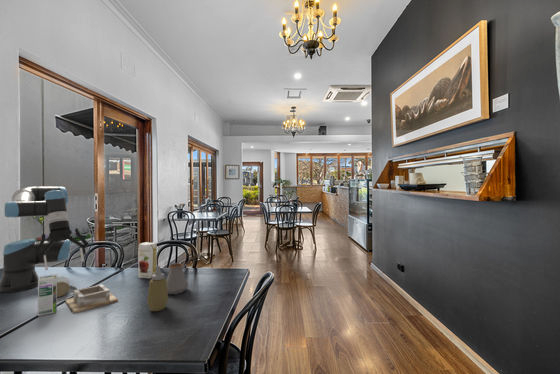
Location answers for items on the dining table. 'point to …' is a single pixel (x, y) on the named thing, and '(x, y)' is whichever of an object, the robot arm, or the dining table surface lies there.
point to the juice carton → (147, 259)
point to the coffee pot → (177, 278)
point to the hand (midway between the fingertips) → (65, 265)
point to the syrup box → (47, 294)
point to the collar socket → (90, 298)
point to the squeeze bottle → (157, 291)
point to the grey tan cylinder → (64, 286)
